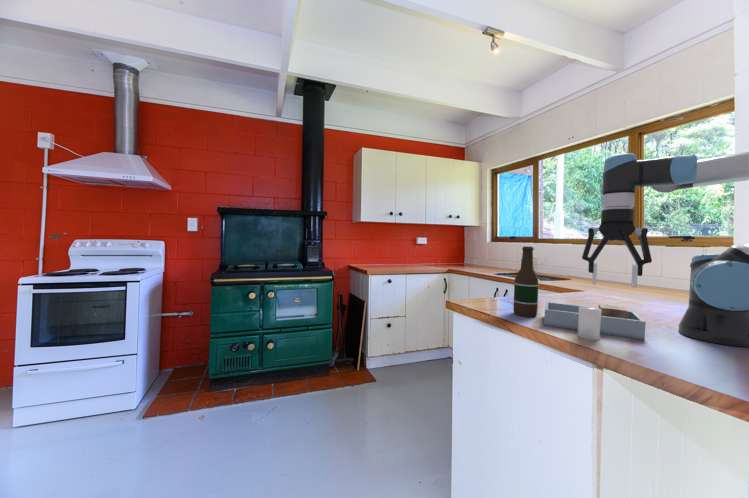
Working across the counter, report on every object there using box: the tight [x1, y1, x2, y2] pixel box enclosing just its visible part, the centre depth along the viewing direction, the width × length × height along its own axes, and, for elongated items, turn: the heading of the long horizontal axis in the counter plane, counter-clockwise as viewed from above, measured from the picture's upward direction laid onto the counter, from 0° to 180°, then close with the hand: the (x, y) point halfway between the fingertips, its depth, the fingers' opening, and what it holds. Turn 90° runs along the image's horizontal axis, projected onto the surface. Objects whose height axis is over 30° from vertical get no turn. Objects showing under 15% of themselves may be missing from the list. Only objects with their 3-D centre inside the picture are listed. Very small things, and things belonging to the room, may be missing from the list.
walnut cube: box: [598, 303, 628, 319], centre depth 91 cm, size 6×6×6 cm
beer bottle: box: [513, 246, 539, 318], centre depth 107 cm, size 8×8×24 cm
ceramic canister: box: [577, 305, 601, 341], centre depth 83 cm, size 5×5×8 cm
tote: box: [543, 301, 646, 341], centre depth 93 cm, size 24×14×5 cm, turn 59°
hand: (613, 285), depth 90 cm, fingers open, 9 cm apart
